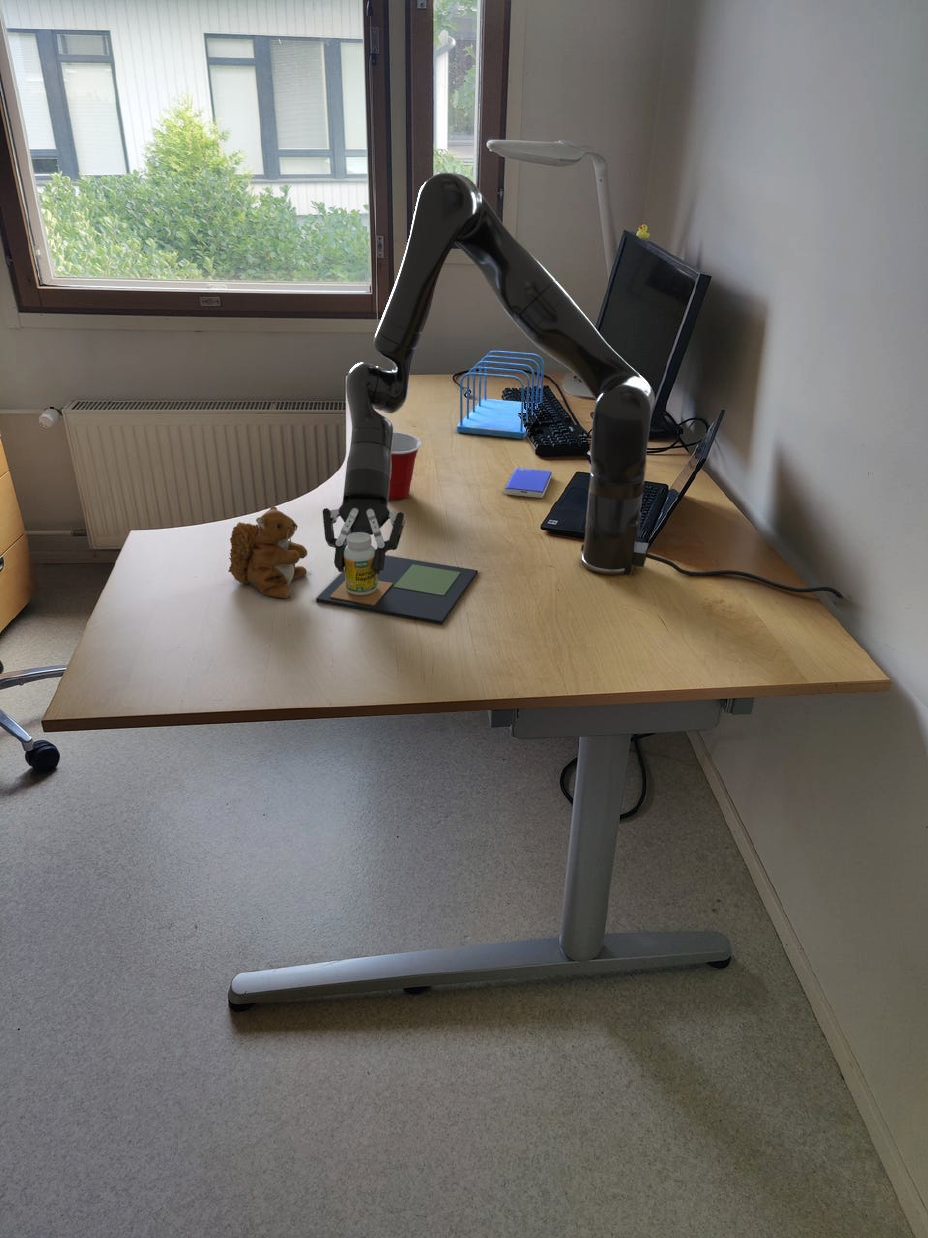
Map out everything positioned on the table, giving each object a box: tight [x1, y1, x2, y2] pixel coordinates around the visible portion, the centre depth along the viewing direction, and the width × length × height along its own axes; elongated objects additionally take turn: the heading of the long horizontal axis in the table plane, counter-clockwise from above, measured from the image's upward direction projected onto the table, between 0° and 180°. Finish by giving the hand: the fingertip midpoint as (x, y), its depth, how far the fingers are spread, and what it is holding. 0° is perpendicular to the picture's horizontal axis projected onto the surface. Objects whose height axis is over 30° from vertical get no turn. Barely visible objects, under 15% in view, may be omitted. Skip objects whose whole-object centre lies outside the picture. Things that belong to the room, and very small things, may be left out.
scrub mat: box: [315, 554, 479, 625], centre depth 151 cm, size 22×19×1 cm
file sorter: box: [456, 350, 545, 440], centre depth 228 cm, size 25×17×15 cm
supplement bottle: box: [344, 532, 378, 595], centre depth 146 cm, size 5×5×10 cm
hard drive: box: [504, 467, 553, 499], centre depth 192 cm, size 2×8×12 cm
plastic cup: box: [389, 431, 422, 501], centre depth 184 cm, size 11×11×12 cm
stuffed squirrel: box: [227, 505, 308, 599], centre depth 149 cm, size 10×14×13 cm
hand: (358, 571), depth 145 cm, fingers closed on supplement bottle, 5 cm apart
